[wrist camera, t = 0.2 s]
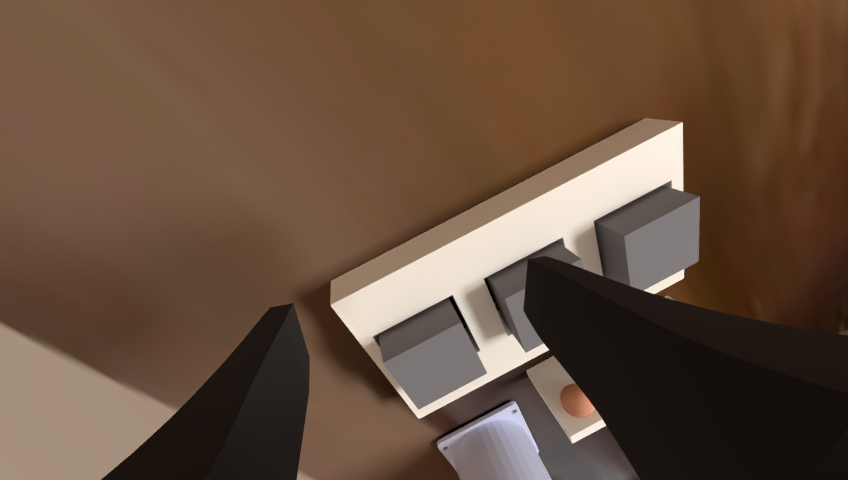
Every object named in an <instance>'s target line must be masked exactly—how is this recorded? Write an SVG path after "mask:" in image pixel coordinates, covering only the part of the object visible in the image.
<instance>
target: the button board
mask: <svg viewBox="0 0 848 480" xmlns="http://www.w3.org/2000/svg"><path fill="white" fill-rule="evenodd" d="M662 185H663V186H667V187H670V188H673V189H676V190H680V191H683V122H677V121H667V120H658V119H648V118H644V119H642V120H641V121H639V122H637V123H635V124H633V125H631V126H629V127H627V128H625V129H623V130H621V131H619V132H617V133H615V134H614V135H612V136H610V137H608V138H606V139H604V140H602V141H600V142H598V143H596V144H594V145H592V146H590V147H588V148H586V149H585V150H583V151H581V152H579V153H577V154H575V155H573V156H571V157H569V158H567V159H565V160H563V161H561V162H559V163H558V164H556V165H554V166H552V167H550V168H548V169H546V170H544V171H542V172H540V173H538V174H536V175H534V176H532V177H530V178H529V179H527V180H525V181H523V182H521V183H519V184H517V185H515V186H513V187H511V188H509V189H507V190H505V191H503V192H502V193H500V194H498V195H496V196H494V197H492V198H490V199H488V200H486V201H484V202H482V203H480V204H478V205H476V206H474V207H473V208H471V209H469V210H467V211H465V212H463V213H461V214H459V215H457V216H455V217H453V218H451V219H449V220H447V221H445V222H444V223H442V224H440V225H438V226H436V227H434V228H432V229H430V230H428V231H426V232H424V233H422V234H420V235H418V236H417V237H415V238H413V239H411V240H409V241H407V242H405V243H403V244H401V245H399V246H397V247H395V248H393V249H391V250H389V251H388V252H386V253H384V254H382V255H380V256H378V257H376V258H374V259H372V260H370V261H368V262H366V263H364V264H362V265H361V266H359V267H357V268H355V269H353V270H351V271H349V272H347V273H345V274H343V275H341V276H339V277H337V278H335V279H333V280H332V281H331V294H330V306H331V307H332V308H333V309H334V311H335V312H336V313H337V315H338V316H339V317H340V318H341V320H342V321H343V322H344V324H345V325H346V326H347V327H348V329H349V330H350V331H351V333H352V334H353V335H354V336H355V338H356V339H357V340H358V342H359V343H360V344H361V345H362V347H363V348H364V349H365V351H366V352H367V353H368V354H369V356H370V357H371V358H372V359H373V361H374V362H375V363H376V365H377V366H378V367H379V368H380V370H381V371H382V372H383V374H384V375H385V376H386V377H387V379H388V380H389V381H390V383H391V384H392V385H393V386H394V388H395V389H396V390H397V392H398V393H399V394H400V395H401V397H402V398H403V399H404V401H405V402H406V403H407V404H408V406H409V407H410V408H411V409H412V411H413V412H414V413H415V415H416V416H417V417H418V418H419V419H420V418H422V417H424V416H426V415H427V414H429V413H431V412H433V411H435V410H437V409H439V408H441V407H442V406H444V405H446V404H448V403H450V402H452V401H454V400H456V399H458V398H459V397H461V396H463V395H465V394H467V393H469V392H471V391H473V390H474V389H476V388H478V387H480V386H482V385H484V384H486V383H488V382H490V381H491V380H493V379H495V378H497V377H499V376H501V375H503V374H505V373H506V372H508V371H510V370H512V369H514V368H516V367H518V366H520V365H522V364H523V363H525V362H527V361H529V360H531V359H533V358H535V357H537V356H538V355H540V354H542V353H544V352H546V351H548V350H549V349H548V348H547V347H546V345H545V344H542V345H540V346H538V347H536V348H534V349H532V350H530V351H529V352H527V353H526V352H525V351H524V349H523V348H522V347H521V345H520V344H519V342H518V341H517V340H516V338H515V337H514V335H513V334H512V333H511V331H510V330H509V328H508V327H507V326H506V324H505V323H504V320H503V318H502V315H501V313H500V311H499V310H498V311H497V309H496V307H495V304H494V302H493V300H492V297H491V295H490V293H489V290H488V288H487V285H486V283H485V281H484V278H486V277H488V276H490V275H491V274H493V273H495V272H497V271H499V270H501V269H503V268H505V267H507V266H509V265H511V264H513V263H514V262H516V261H518V260H520V259H522V258H524V257H526V256H528V255H530V254H532V253H534V252H535V251H537V250H539V249H541V248H543V247H545V246H547V245H549V244H551V243H553V242H555V241H557V242H558V243H560V244H561V245H563V246H564V247H566V248H567V249H568V250H570V251H571V252H573V253H574V254H575V255H577V256H578V257H580V258H581V259H582V264H583V268H584V269H585V270H588V271H590V272H593V273H596V274H598V275H601V276H603V272H602V267H601V261H600V255H599V250H598V244H597V238H596V232H595V227H594V221H595V220H597V219H598V218H600V217H602V216H604V215H606V214H608V213H610V212H612V211H614V210H616V209H618V208H619V207H621V206H623V205H625V204H627V203H629V202H631V201H633V200H635V199H637V198H639V197H641V196H642V195H644V194H646V193H648V192H650V191H652V190H654V189H656V188H658V187H660V186H662ZM683 278H684V269H683V270H681V271H679V272H677V273H676V274H674V275H672V276H670V277H668V278H666V279H664V280H662V281H660V282H659V283H657V284H655V285H653V286H651V287H649V288H647V289H645V290H644V291H646V292H649V293H652V294H655V293H657V292H659V291H661V290H663V289H665V288H667V287H668V286H670V285H672V284H674V283H676V282H678V281H680V280H682V279H683ZM451 295H452V297H453V299H454V301H455V303H456V305H457V307H458V309H459V311H460V313H461V315H462V317H463V319H464V321H465V323H466V325H467V327H466V328H464V329H465V331H466V332H467V334H468V336H469V338H470V340H471V342H472V344H473V346H474V348H475V350H476V352H477V354H478V356H479V358H480V360H481V362H482V364H483V366H484V368H485V369H486V371H487V374H485V375H483V376H481V377H480V378H478V379H476V380H474V381H472V382H470V383H468V384H466V385H464V386H463V387H461V388H459V389H457V390H455V391H453V392H451V393H449V394H447V395H446V396H444V397H442V398H440V399H438V400H436V401H434V402H432V403H431V404H429V405H427V406H425V407H423V408H421V409H419V410H418V408H417V407H416V406H415V405H414V403H413V402H412V401H411V399H410V398H409V397H408V395H407V394H406V393H405V391H404V390H403V389H402V387H401V386H400V385H399V383H398V382H397V381H396V380H395V378H394V377H393V376H392V374H391V373H390V372H389V370H388V369H387V368H386V366H385V365H384V364H383V360H382V354H381V348H380V342H379V336H378V334H379V333H381V332H383V331H385V330H386V329H388V328H390V327H392V326H394V325H396V324H398V323H400V322H402V321H404V320H406V319H407V318H409V317H411V316H413V315H415V314H417V313H419V312H421V311H423V310H425V309H427V308H428V307H430V306H432V305H434V304H436V303H438V302H440V301H442V300H444V299H446V298H448V297H449V296H451Z"/></svg>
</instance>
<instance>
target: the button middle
mask: <svg viewBox="0 0 848 480" xmlns="http://www.w3.org/2000/svg"><path fill="white" fill-rule="evenodd" d="M542 256H547V257H551V258H554V259H557V260H560V261H563V262H566V263H569V264H572V265H574V266H577V267H580V268H582V269H584V268H583V264H582V259H581V258H580V257H578V256H577V255H575V254H574V253H573V252H571V251H570V250H568V249H567V248H566V247H564V246H563V245H561V244H560V243H558V242H557V241H555V242H553V243H551V244H549V245H547V246H545V247H543V248H541V249H539V250H537V251H535V252H534V253H532V254H530V255H528V256H526V257H524V258H522V259H520V260H518V261H516V262H514V263H513V264H511V265H509V266H507V267H505V268H503V269H501V270H499V271H497V272H495V273H493V274H491V275H490V276H488V277H486V279H487V282H488V284H489V287H490V289H491V291H492V294H493V296H494V299H495V301H496V303H497V306H498V308H499V311H500V313H501V315H502V318H503V320H504V323H505V324H506V326H507V327H508V328H509V330H510V331H511V333H512V334H513V335H514V337H515V338H516V340H517V341H518V342H519V344H520V345H521V347H522V348H523V349H524V351H525V352H526V353H527V352H529V351H530V350H532V349H534V348H536V347H538V346H540V345H542V344H544V343H543V342H542V340H541V339H540V338H539V336H538V335H537V333H536V331H535V330H534V328H533V327H532V325H531V323H530V321H529V320H528V318H527V316H526V314H525V313H524V311H523V308H524V297H525V285H526V274H527V263H528V259H531V258H537V257H542Z"/></svg>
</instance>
